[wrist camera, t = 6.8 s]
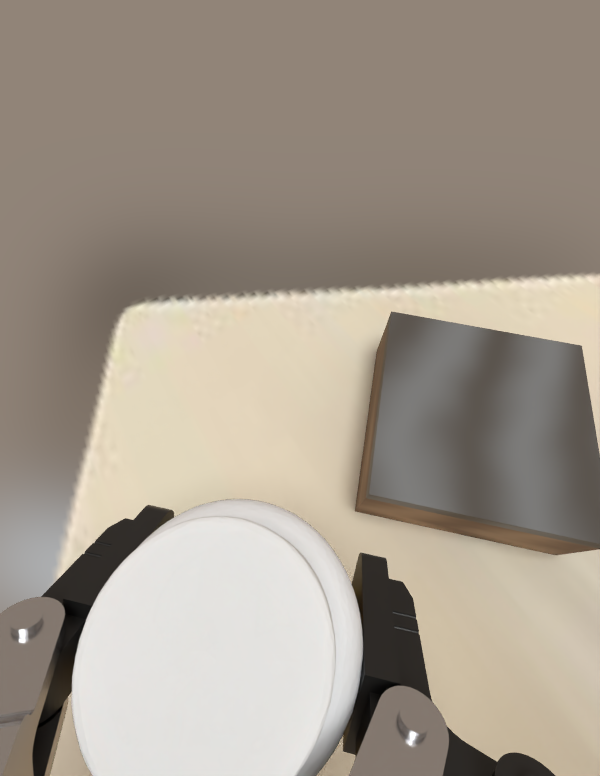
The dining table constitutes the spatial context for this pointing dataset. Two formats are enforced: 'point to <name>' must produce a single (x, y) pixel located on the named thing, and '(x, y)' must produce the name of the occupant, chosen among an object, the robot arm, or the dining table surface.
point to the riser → (482, 436)
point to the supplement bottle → (220, 650)
